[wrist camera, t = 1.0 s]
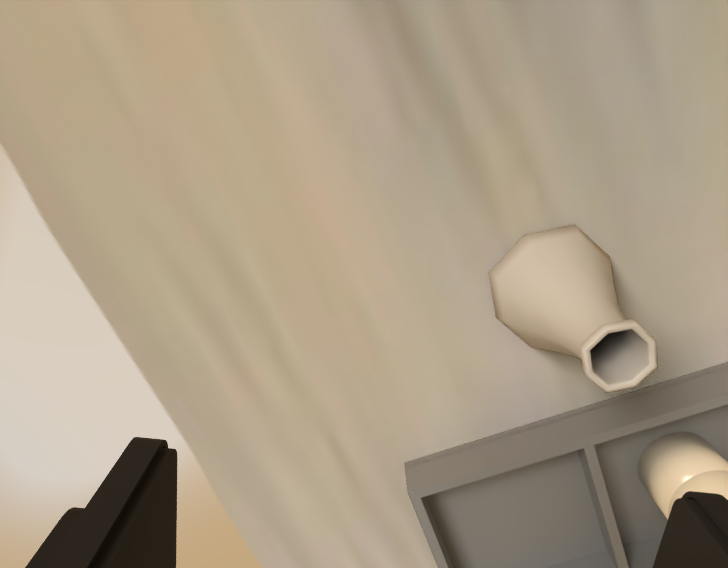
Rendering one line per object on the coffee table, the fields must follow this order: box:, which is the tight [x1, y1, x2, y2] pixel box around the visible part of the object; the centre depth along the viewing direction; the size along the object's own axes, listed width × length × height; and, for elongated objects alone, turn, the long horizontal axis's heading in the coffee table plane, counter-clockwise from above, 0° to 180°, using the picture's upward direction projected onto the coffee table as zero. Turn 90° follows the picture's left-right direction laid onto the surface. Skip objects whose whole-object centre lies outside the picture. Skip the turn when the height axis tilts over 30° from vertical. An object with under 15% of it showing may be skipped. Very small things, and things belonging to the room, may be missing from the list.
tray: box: [404, 362, 728, 568], centre depth 37 cm, size 22×11×3 cm, turn 110°
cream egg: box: [637, 431, 728, 519], centre depth 34 cm, size 5×5×6 cm
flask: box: [489, 224, 658, 393], centre depth 30 cm, size 7×7×10 cm
